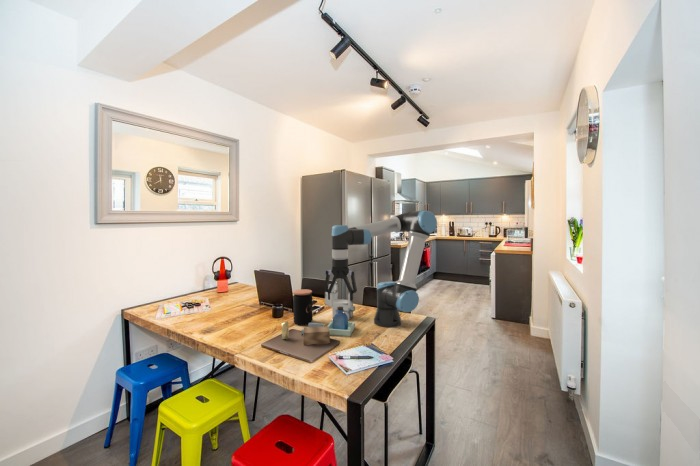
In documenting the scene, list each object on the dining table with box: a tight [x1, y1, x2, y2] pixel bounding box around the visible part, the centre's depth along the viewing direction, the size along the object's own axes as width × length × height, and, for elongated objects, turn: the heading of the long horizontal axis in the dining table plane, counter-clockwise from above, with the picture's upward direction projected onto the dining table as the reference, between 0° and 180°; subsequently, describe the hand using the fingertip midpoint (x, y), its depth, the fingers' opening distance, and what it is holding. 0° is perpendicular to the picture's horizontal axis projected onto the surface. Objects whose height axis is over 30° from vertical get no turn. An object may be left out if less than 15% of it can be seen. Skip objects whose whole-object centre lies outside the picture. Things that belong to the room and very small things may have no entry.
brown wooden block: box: [303, 325, 331, 346], centre depth 140 cm, size 12×7×6 cm, turn 98°
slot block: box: [300, 322, 325, 336], centre depth 153 cm, size 8×12×2 cm, turn 168°
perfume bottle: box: [332, 307, 349, 330], centre depth 153 cm, size 6×6×12 cm
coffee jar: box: [292, 288, 313, 327], centre depth 167 cm, size 11×11×18 cm
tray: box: [327, 320, 356, 338], centre depth 153 cm, size 13×13×3 cm
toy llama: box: [324, 282, 356, 321], centre depth 176 cm, size 8×18×20 cm, turn 66°
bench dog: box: [281, 321, 290, 340], centre depth 144 cm, size 3×3×8 cm
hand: (340, 306), depth 137 cm, fingers open, 8 cm apart
